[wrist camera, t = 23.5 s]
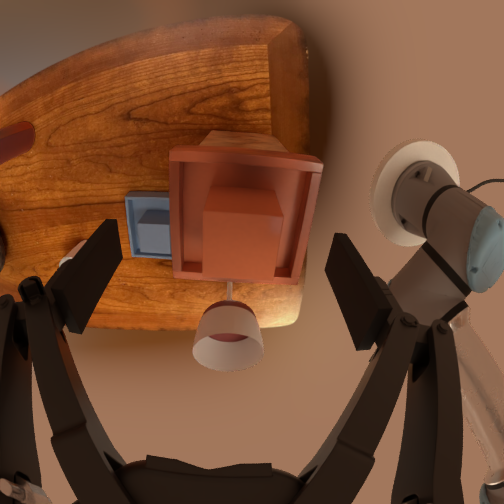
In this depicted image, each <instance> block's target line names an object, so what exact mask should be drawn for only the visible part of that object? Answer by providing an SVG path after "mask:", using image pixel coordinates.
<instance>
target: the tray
mask: <svg viewBox="0 0 504 504" xmlns="http://www.w3.org/2000/svg"><path fill="white" fill-rule="evenodd" d="M125 205H126V215H127V224H128V232H129V240H130V247H131V253H132V257H134V256H135V257H146V258H160V259H172V252H171V254H162V253H147V252H140V244H139V236H138V226H137V223H138V222H139V220H140V219H141V217H142V216H143V215H144V213H145V212H146V210H162V211H170V210H169V192H142V191H130V192H129V193H128V194H127V195H126V196H125Z"/></svg>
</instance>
